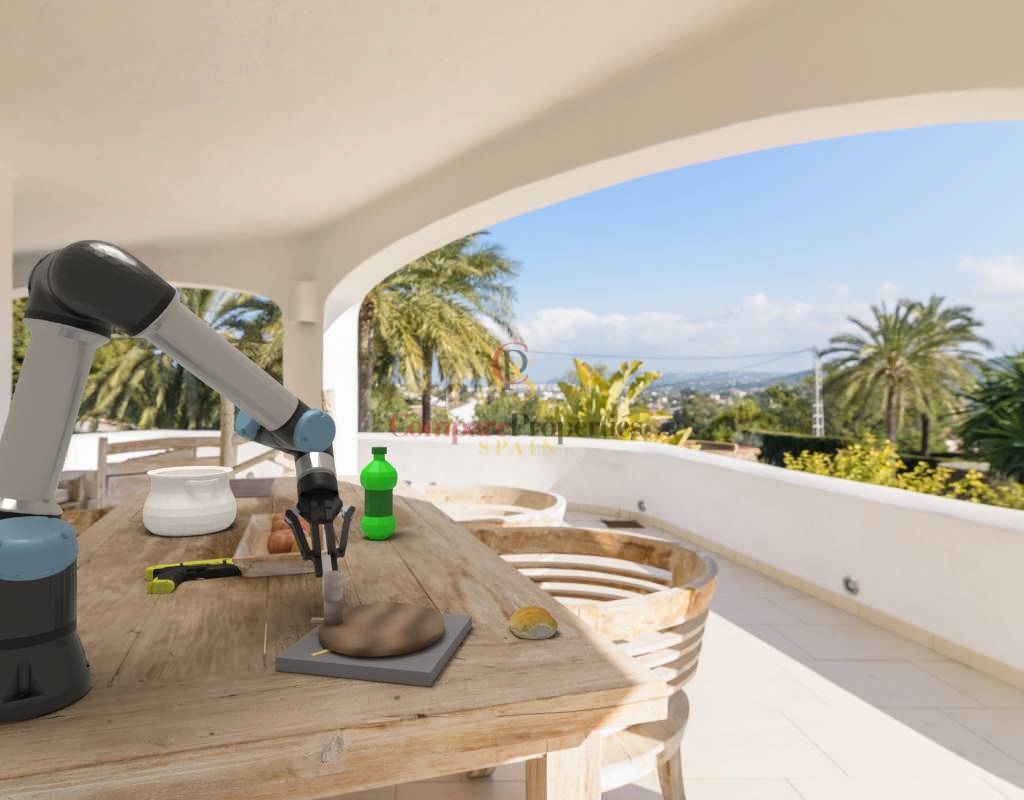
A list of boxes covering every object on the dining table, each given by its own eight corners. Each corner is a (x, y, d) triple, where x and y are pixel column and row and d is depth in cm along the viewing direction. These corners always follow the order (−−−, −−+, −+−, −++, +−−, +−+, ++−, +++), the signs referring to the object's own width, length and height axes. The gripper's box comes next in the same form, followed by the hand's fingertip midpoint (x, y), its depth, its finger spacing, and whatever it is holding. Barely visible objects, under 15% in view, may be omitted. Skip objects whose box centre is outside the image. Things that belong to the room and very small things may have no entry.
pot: (132, 527, 195) (132, 469, 194) (219, 516, 211) (219, 463, 211) (156, 543, 176) (156, 479, 175) (250, 530, 192) (250, 472, 192)
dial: (449, 611, 120) (449, 558, 119) (437, 657, 100) (438, 593, 99) (327, 610, 119) (328, 556, 119) (292, 655, 99) (292, 592, 99)
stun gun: (246, 573, 142) (240, 556, 155) (142, 583, 133) (145, 564, 147) (246, 587, 142) (240, 568, 155) (142, 598, 133) (145, 577, 147)
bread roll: (547, 620, 123) (548, 599, 123) (562, 639, 115) (562, 615, 114) (503, 623, 121) (503, 601, 121) (515, 642, 113) (515, 619, 113)
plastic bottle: (390, 542, 180) (391, 449, 179) (353, 540, 182) (354, 448, 181) (402, 534, 190) (403, 446, 189) (367, 532, 192) (367, 445, 191)
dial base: (430, 686, 95) (430, 671, 95) (275, 670, 100) (275, 655, 100) (471, 626, 119) (472, 614, 119) (345, 616, 124) (345, 604, 124)
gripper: (348, 491, 135) (363, 598, 120) (280, 494, 130) (287, 607, 115) (353, 468, 130) (370, 577, 115) (282, 470, 125) (290, 585, 110)
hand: (328, 592), depth 115 cm, fingers closed
